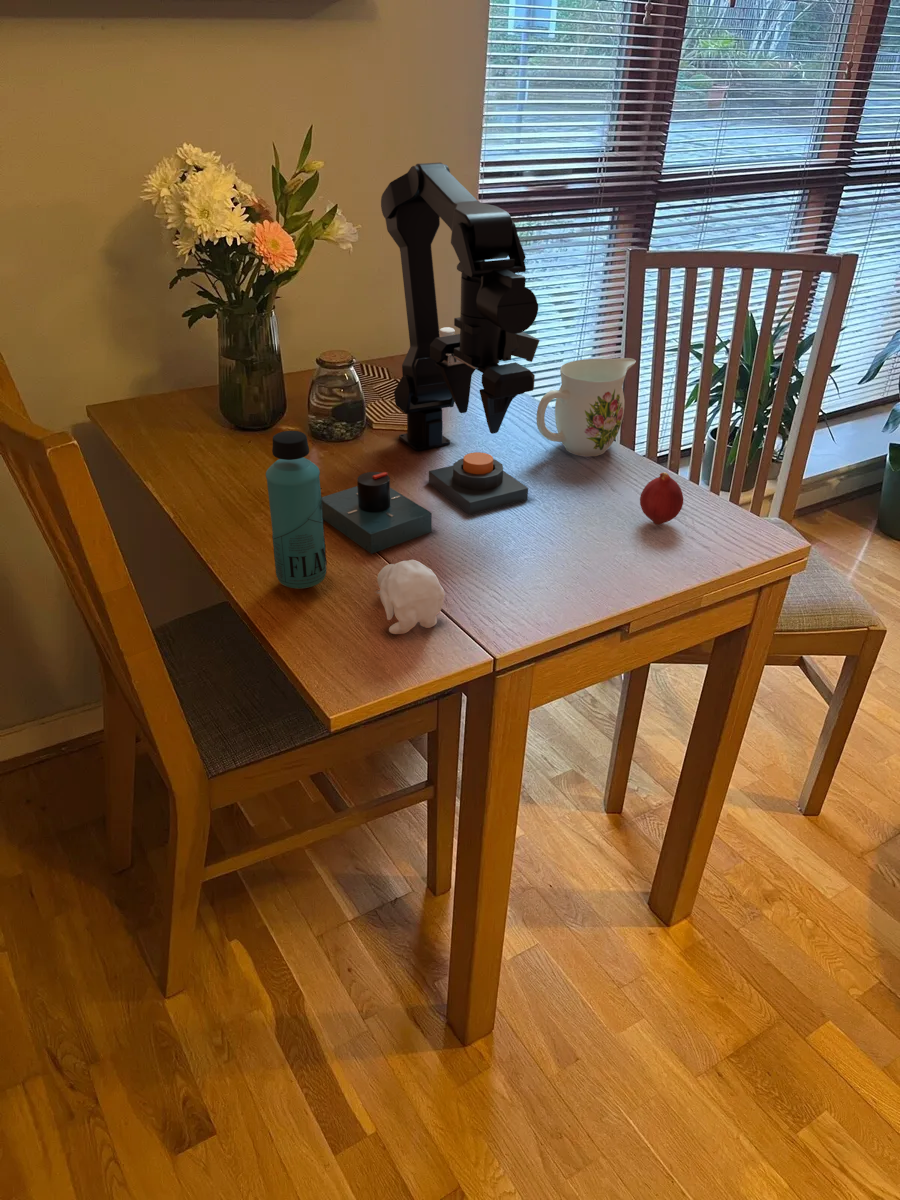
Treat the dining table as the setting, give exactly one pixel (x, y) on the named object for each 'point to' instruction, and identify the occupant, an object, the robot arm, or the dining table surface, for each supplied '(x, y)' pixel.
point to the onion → (661, 499)
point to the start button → (478, 463)
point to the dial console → (376, 520)
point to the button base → (478, 487)
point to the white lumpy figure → (410, 595)
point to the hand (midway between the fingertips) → (478, 422)
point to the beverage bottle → (296, 513)
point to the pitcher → (587, 405)
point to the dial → (373, 491)
